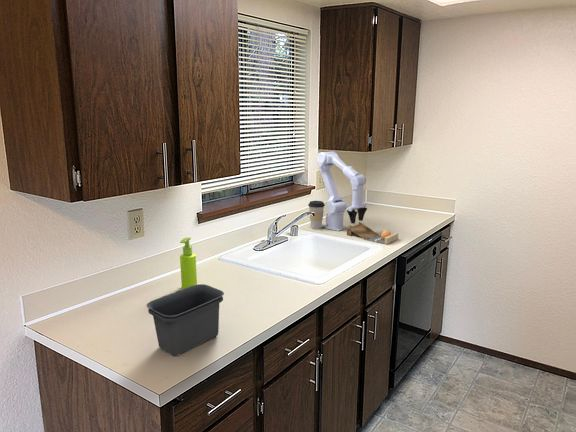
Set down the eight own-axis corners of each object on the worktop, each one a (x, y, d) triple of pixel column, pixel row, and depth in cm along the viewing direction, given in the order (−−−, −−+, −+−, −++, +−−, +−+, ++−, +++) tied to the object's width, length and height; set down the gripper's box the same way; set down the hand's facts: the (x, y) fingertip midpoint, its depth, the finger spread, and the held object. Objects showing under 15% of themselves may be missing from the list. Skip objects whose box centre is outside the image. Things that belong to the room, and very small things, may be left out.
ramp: (346, 236, 253) (347, 225, 251) (356, 232, 260) (356, 221, 258) (368, 241, 244) (369, 229, 242) (378, 237, 251) (378, 225, 249)
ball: (381, 230, 240) (389, 234, 237) (385, 228, 244) (394, 232, 241) (378, 238, 242) (386, 242, 239) (383, 236, 246) (391, 240, 243)
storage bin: (172, 364, 129) (169, 317, 126) (141, 345, 139) (137, 301, 135) (230, 336, 145) (228, 293, 141) (198, 321, 154) (196, 280, 151)
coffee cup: (316, 224, 273) (316, 199, 269) (327, 228, 266) (328, 202, 262) (304, 227, 267) (304, 201, 264) (315, 230, 260) (316, 204, 257)
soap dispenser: (177, 290, 179) (174, 240, 174) (185, 283, 186) (183, 235, 181) (192, 291, 178) (189, 241, 173) (199, 284, 184) (197, 236, 179)
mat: (363, 239, 244) (364, 233, 243) (375, 234, 253) (375, 228, 252) (386, 244, 236) (387, 238, 235) (398, 239, 244) (398, 233, 244)
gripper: (356, 200, 241) (355, 225, 244) (371, 196, 252) (370, 220, 255) (345, 198, 246) (344, 223, 249) (360, 194, 256) (359, 218, 260)
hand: (356, 221), depth 252 cm, fingers open, 7 cm apart
